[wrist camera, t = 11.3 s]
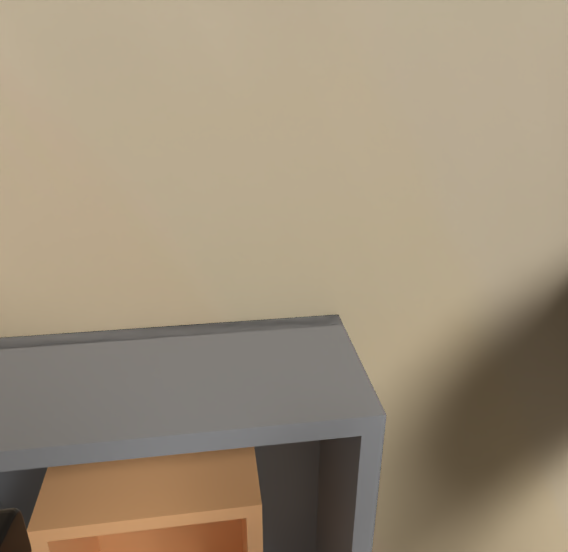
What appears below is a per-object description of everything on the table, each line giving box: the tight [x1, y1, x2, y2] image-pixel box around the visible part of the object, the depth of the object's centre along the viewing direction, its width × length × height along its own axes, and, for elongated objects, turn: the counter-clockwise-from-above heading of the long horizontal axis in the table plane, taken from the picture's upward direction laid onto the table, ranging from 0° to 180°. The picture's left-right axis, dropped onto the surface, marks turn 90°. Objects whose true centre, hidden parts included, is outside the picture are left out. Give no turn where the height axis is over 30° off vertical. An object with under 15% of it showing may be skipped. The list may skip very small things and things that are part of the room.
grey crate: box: [0, 315, 386, 552], centre depth 21 cm, size 14×16×6 cm
